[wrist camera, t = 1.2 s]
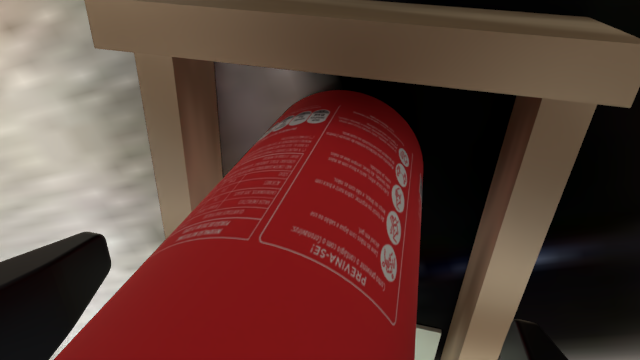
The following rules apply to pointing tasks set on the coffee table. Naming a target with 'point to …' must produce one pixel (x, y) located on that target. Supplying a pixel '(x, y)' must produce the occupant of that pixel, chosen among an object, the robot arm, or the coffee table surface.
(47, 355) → the robot arm
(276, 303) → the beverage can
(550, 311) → the coffee table surface
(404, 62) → the bay
